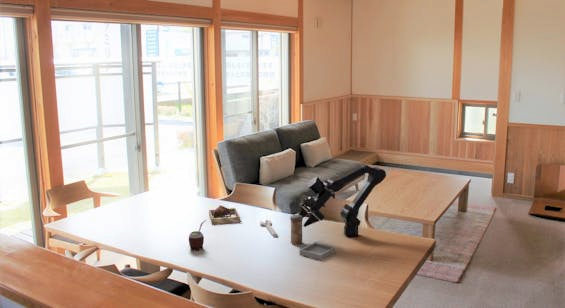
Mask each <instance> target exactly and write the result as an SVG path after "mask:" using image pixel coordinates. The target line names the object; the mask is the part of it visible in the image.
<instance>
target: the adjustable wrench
mask: <svg viewBox="0 0 565 308" xmlns="http://www.w3.org/2000/svg"><path fill="white" fill-rule="evenodd" d="M259 225H260V227H265V228H266V229H267V231H268V232H269V234H270V235H271V236H273V237H272V238H278V237H279V236H278V233H277V232H276V230H274V228H273V227H272V226H271V225H272V221H271V220H268V219H266V220H265V222H264V221H260V222H259Z"/></svg>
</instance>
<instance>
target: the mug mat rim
mask: <svg viewBox="0 0 565 308" xmlns="http://www.w3.org/2000/svg"><path fill="white" fill-rule="evenodd" d="M216 209H217V208H216ZM216 209H215V208H214V209H208V216H209V219H210V223H211V225H219V224H230V223H240V222H241V216H240V215H239V212H238V210H237V208H236V207H231V208H230V207H229V208H228V209H230V210H231V211H230V212H231V215H232V214H234V216H228V217H226V216H224V218H213V217H214V213H215V210H216ZM219 212H220V211H219ZM225 215H229V214H228V213H226V214H225Z"/></svg>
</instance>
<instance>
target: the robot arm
mask: <svg viewBox="0 0 565 308" xmlns="http://www.w3.org/2000/svg"><path fill="white" fill-rule="evenodd" d="M365 174H367V180H366V182H365V184H364V185H363V186H362V187H361V189H360V190H359V192H358V193H357V195H356V196H355V197H354V198H353V200H352V201H351V203H349V204H347V203H346V204H344V205H343V207H342V208H341V210H340V218H341V219H342V220H343V222H344V226H343V235H345V236H346V237H347V238H356V237H357V238H358V237H360V234H359V226H360V225H361V220H360V219H359V218H358V215H359V211H360V208H361V207H362V206H363V204H364V202H365V201H366V199H367V198H368V197H369V196H370V194H371V193H372V191H373V190H374V188H375V187H376V186H377V185H379V184H381V183H382V182H383V181H384V180H385V178H386V177H387V172H386V171H385V170H384V169H383V168H380V167H377V166H373V167H372V166H369V165H367V164H365V163H362V164H360V165H359V166H357V167H355V168H353V169H351V170H350V171H348V172H345V173H344V174H342V175H339V176H334V177H333V176H332V177H331V178H328V179H327V180H324V181H322V180H321V179H320V177H318V176H315V177H313V178H312V179H310V180H308V182H307V184H306V186H307V188H308V189H310V191H312V193H314V194H315V195H316V196H307V195H304V194H302V195H301V198H300V200H299V201H300V202H299V204H298V205H299V213H298V214H297V215H301V216H303V219H304V218H305V217H307V216H308V218H307V219H306V221H305V222H304V223H303V224H302V227H304V228H306V227H309V226H310V225H313V224H315V223H319V222H320V221H321V222H322V221H323V220H324V219H325V215H324V214H323V213H322V212H321V210H322V208H325V207H326V204H327V202H328V201H329V200H330V198H331V199H334V200H335V199H336V193H337V192H338V193H339V191H341V190H342V189H344V188H345V185H347V184H348V183H350V182H352V181H354V180H356V179H358V178H360V177H362V176H363V175H365ZM331 191H332V192H331Z"/></svg>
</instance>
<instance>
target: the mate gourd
mask: <svg viewBox="0 0 565 308" xmlns="http://www.w3.org/2000/svg"><path fill="white" fill-rule="evenodd" d="M206 221H207V219H205V220H204V221H202V222H201V223H200V226H199V228H198V229H199V230H198V231H197V230H196V231H191V232H190V233H189V235H188V243H189V247H190V248H189V249H190V251H194V250H196V251H197V252H199V251H200V250H201V249H204V247H203V246H204V241H205V240H204V237H205V236H204V234H203V232H201V229H202V227H203V224H204V223H205V222H206Z"/></svg>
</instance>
